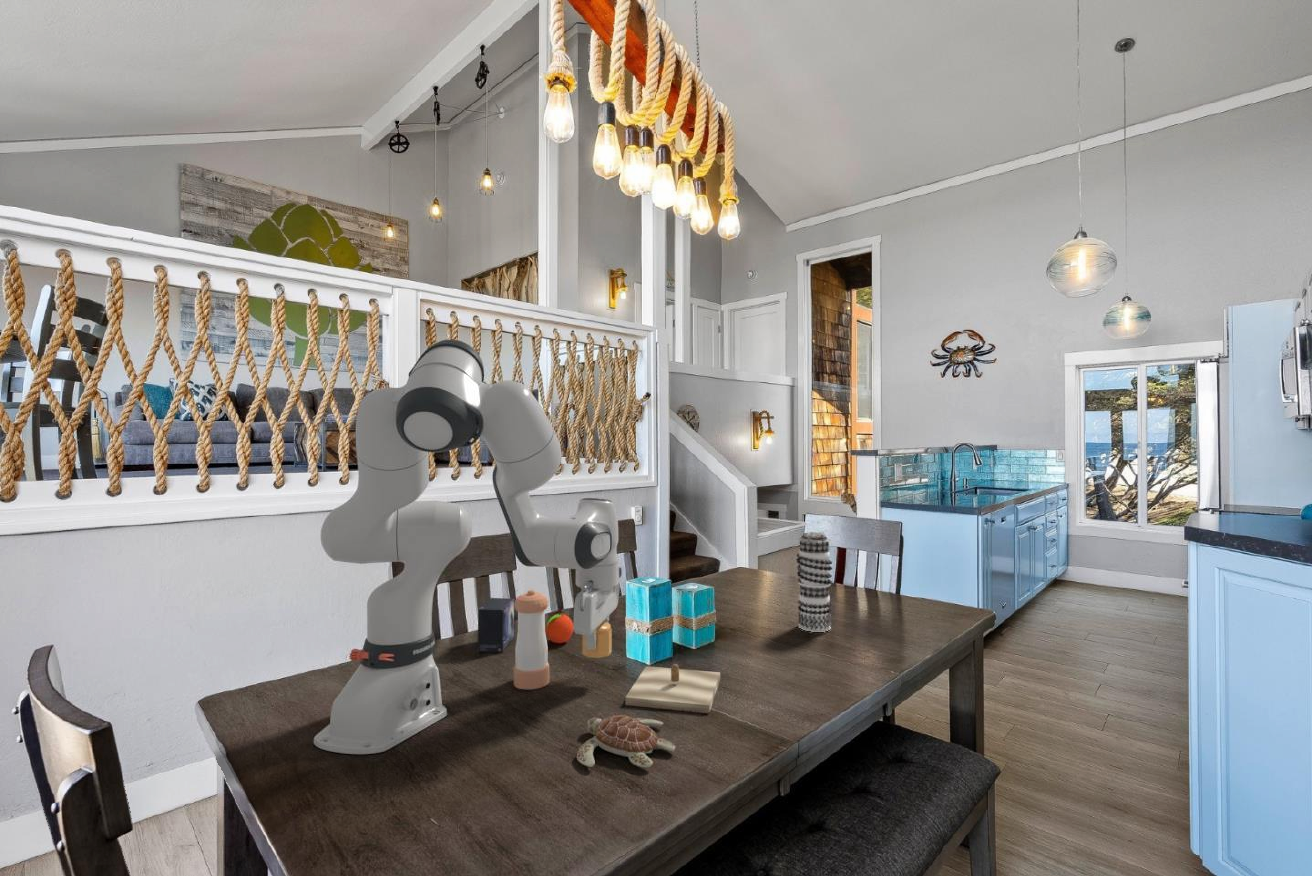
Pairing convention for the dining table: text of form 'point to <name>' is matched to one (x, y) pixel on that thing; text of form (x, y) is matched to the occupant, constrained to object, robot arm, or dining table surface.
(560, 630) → the clementine
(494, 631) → the small box
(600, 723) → the decorative turtle
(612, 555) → the robot arm
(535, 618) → the salt shaker
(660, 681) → the square peg board
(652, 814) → the dining table surface
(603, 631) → the tan rounded cylinder
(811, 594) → the decorative candle
